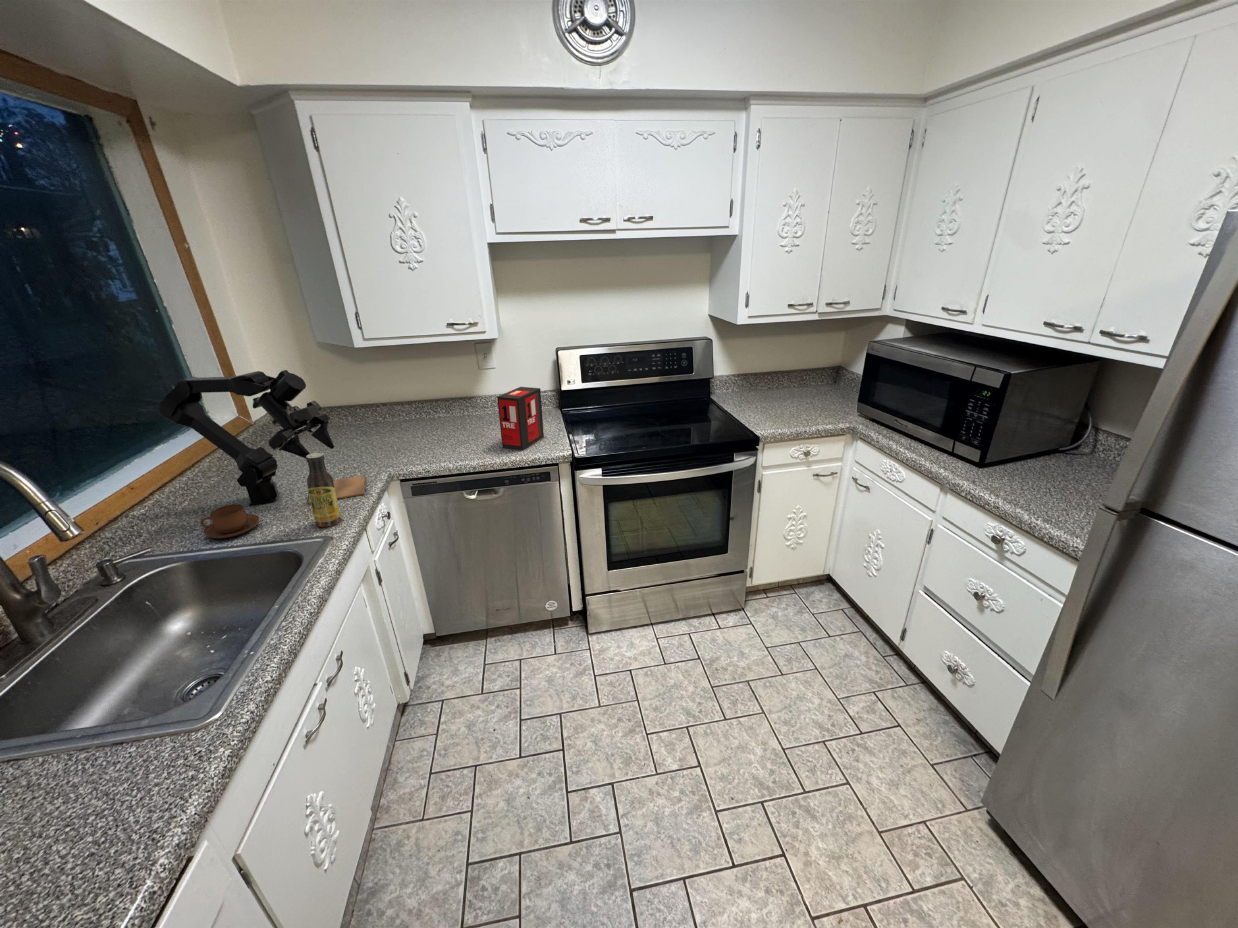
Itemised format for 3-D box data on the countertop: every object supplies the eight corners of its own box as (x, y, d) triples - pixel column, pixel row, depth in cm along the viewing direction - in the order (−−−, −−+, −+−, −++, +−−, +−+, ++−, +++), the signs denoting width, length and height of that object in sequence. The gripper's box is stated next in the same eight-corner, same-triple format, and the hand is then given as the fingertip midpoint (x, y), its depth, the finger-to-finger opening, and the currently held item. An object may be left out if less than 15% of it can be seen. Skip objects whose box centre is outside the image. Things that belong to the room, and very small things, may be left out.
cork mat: (308, 504, 149) (307, 502, 148) (313, 485, 161) (312, 483, 161) (364, 494, 154) (364, 493, 154) (364, 477, 167) (364, 475, 167)
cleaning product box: (524, 434, 206) (520, 386, 198) (543, 436, 203) (540, 388, 196) (502, 447, 192) (497, 396, 184) (522, 450, 189) (518, 398, 181)
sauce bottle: (313, 529, 134) (294, 460, 127) (319, 519, 140) (301, 452, 132) (340, 526, 136) (323, 458, 128) (345, 515, 142) (329, 449, 134)
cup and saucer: (211, 547, 126) (203, 526, 124) (201, 531, 134) (193, 511, 132) (266, 530, 134) (259, 509, 132) (254, 515, 142) (247, 496, 140)
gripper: (272, 403, 129) (318, 449, 133) (320, 386, 146) (359, 427, 150) (248, 427, 133) (293, 471, 136) (298, 408, 150) (337, 448, 153)
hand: (322, 453), depth 144 cm, fingers open, 9 cm apart
